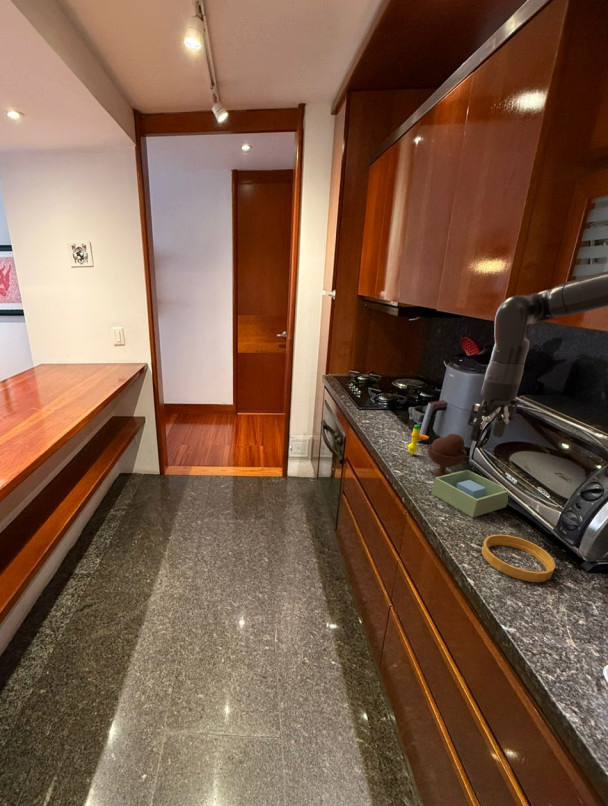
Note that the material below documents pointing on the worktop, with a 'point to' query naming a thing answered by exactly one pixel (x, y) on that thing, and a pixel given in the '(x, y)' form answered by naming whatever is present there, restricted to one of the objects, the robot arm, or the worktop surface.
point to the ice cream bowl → (447, 452)
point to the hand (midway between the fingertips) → (486, 438)
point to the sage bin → (471, 506)
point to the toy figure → (415, 439)
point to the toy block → (471, 488)
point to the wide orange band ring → (524, 546)
